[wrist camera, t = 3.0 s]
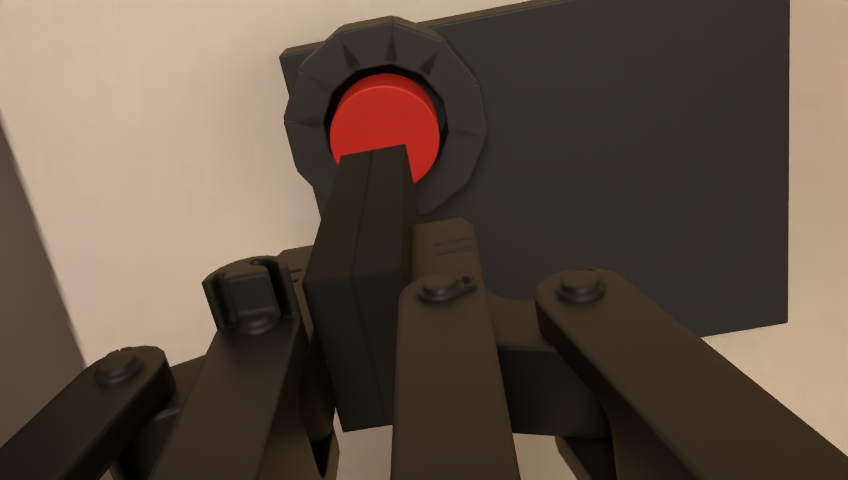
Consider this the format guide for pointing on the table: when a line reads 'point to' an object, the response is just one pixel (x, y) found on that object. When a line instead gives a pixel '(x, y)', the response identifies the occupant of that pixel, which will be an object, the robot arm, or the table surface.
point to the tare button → (387, 121)
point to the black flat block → (591, 142)
